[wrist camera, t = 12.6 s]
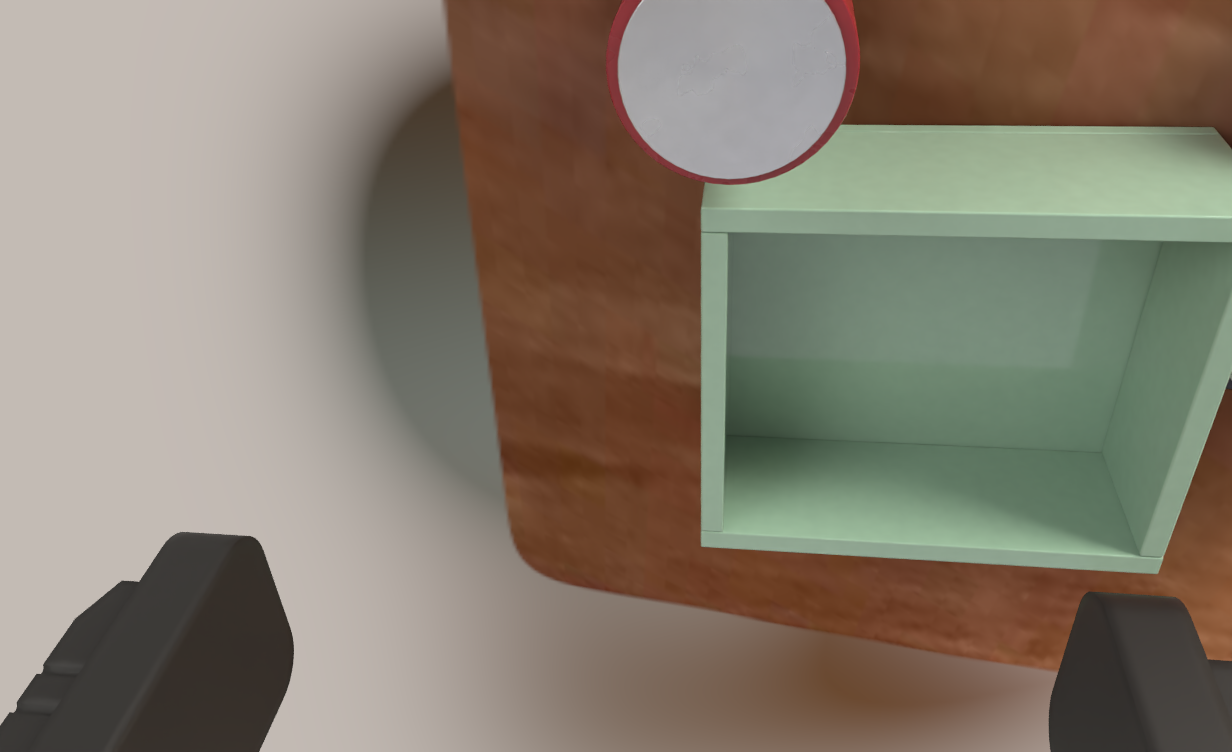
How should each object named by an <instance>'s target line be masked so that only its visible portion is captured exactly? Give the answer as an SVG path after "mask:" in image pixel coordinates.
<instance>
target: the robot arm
mask: <svg viewBox="0 0 1232 752" xmlns="http://www.w3.org/2000/svg"><path fill="white" fill-rule="evenodd" d="M293 656H294V645H293V637H292V632H291V629H290V626H289V623H288V621H287V617H286V614H285V612H284V609H283V606H282V603H281V600H280V597H279V594H278V591H277V588H276V586H275V583H274V580H273V577H272V574H271V571H270V568H269V565H268V563H267V560H266V557H265V554H264V551H263V549H262V546H261V545H260V543H259V542H258V540H256V539H255V538H253V537H251V536H238V535H222V534H205V533H190V532H180V533H177V534H175V535H173V536H172V537H171V538H170V539H169V540H168V541H167V542H166V543H165V544H164V546H163V547H162V548H161V550H160V551H159V553H158V554H157V556H156V557H155V559H154V560H153V562H152V563H151V565H150V566H149V568H148V569H147V571H146V573H145V574H144V575H143V577H142V578H141V580H140V582H134V581H121V582H120V583H118V584H117V585H116V586H115V587H114V588H112V589H111V590H110V591H109V592H107V593H106V594H105V595H104V596H103V597H101V598H100V599H99V600H98V601H97V602H95V603H94V604H93V605H92V606H91V607H89V608H88V609H87V610H85V611H84V612H83V613H82V614H81V615H79V616H78V617H77V618H76V619H75V620H74V621H73V623H72V624H71V626H70V627H69V628H68V630H67V631H66V633H65V634H64V636H63V637H62V638H61V640H60V642H59V643H58V644H57V646H56V647H55V648H54V650H53V651H52V653H51V654H50V656H49V657H48V658H47V660H46V661H45V663H44V665H43V666H44V669H43V672H42V673H41V674H36V676H35V677H34V678H33V680H32V681H31V683H30V684H29V686H28V687H27V688H26V690H25V691H24V693H23V694H22V696H21V697H20V698H19V700H18V701H17V709H16V711H15V712H14V713H9V714H8V716H7V717H6V718H5V720H4V721H3V723H2V724H1V725H0V752H259V751H260V748H261V746H262V744H263V742H264V740H265V737H266V735H267V733H268V731H269V729H270V727H271V724H272V722H273V720H274V718H275V715H276V714H277V711H278V709H279V707H280V705H281V703H282V701H283V698H284V696H285V693H286V691H287V688H288V685H289V682H290V677H291V673H292V667H293V658H294V657H293ZM1049 741H1050V750H1051V752H1232V661H1221V660H1208V659H1207V657H1206V654H1205V652H1204V649H1203V647H1202V644H1201V642H1200V639H1199V637H1198V634H1197V632H1196V629H1195V627H1194V624H1193V621H1192V619H1191V617H1190V614H1189V612H1188V610H1187V608H1186V607H1185V605H1184V604H1183V603H1182V602H1181V601H1180V600H1179V599H1178V598H1176V597H1167V596H1151V595H1135V594H1119V593H1103V592H1088V593H1086V594H1085V595H1084V596H1083V598H1082V600H1081V602H1080V605H1079V608H1078V611H1077V614H1076V617H1075V621H1074V624H1073V627H1072V630H1071V633H1070V636H1069V640H1068V643H1067V646H1066V649H1065V652H1064V656H1063V659H1062V662H1061V665H1060V668H1059V672H1058V675H1057V678H1056V681H1055V685H1054V688H1053V691H1052V695H1051V700H1050V709H1049Z"/></svg>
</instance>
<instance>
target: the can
mask: <svg viewBox="0 0 1232 752" xmlns="http://www.w3.org/2000/svg"><path fill="white" fill-rule="evenodd" d="M859 70H860V48H859V40H858V33H857V27H856V20H855V14H854V8H853V2H852V0H622V1H621V4H620V6H619V9H618V11H617V13H616V16H615V18H614V21H613V24H612V27H611V31H610V34H609V38H608V45H607V52H606V74H607V82H608V88H609V91H610V95H611V99H612V102H613V105H614V107H615V110H616V112H617V115H618V117H619V118H620V120H621V122H622V124H623V125H624V127H625V129H626V130H627V132H628V133H629V134H630V136H631V137H632V138H633V140H634V141H635V142H636V143H637V144H638V145H639V146H640V147H641V148H642V149H643V150H644V151H645V152H646V153H647V154H648V155H649V156H651V157H652V158H653V159H654V160H656V161H657V162H658V163H660V164H662V165H663V166H665V167H666V168H668V169H670V170H672V171H674V172H676V173H678V174H680V175H682V176H685V177H688V178H691V179H694V180H697V181H701V182H706V183H712V184H722V185H740V184H749V183H755V182H760V181H764V180H767V179H771V178H774V177H777V176H779V175H781V174H784V173H786V172H788V171H790V170H792V169H794V168H795V167H797V166H799V165H801V164H802V163H804V162H805V161H807V160H808V159H809V158H810V157H812V156H813V155H814V154H816V153H817V152H818V151H819V150H820V149H821V148H822V147H823V146H824V145H825V144H826V143H827V142H828V141H829V140H830V138H831V137H832V136H833V135H834V133H835V132H836V131H837V130H838V128H839V126H840V125H841V123H842V121H843V120H844V118H845V116H846V114H847V112H848V110H849V108H850V105H851V103H852V101H853V98H854V94H855V91H856V88H857V83H858V77H859Z"/></svg>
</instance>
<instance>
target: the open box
mask: <svg viewBox="0 0 1232 752" xmlns="http://www.w3.org/2000/svg"><path fill="white" fill-rule="evenodd" d="M1231 372H1232V148H1231V147H1230V146H1229V145H1228V143H1227V142H1226V141H1225V140H1224V138H1223V137H1222V136H1221V135H1220V134H1219V132H1218V131H1217V130H1216V129H1215V128H1214V127H1108V126H953V125H840V126H839V128H838V130H837V131H836V132H835V133H834V135H833V136H832V137H831V138H830V140H829V141H828V142H827V143H826V144H825V145H824V146H823V147H822V148H821V149H820V150H819V151H818V152H817V153H816V154H814V155H813V156H812V157H810V158H809V159H808V160H807V161H805V162H804V163H802V164H801V165H799V166H797V167H795V168H794V169H792V170H790V171H788V172H786V173H784V174H781V175H779V176H777V177H774V178H771V179H767V180H764V181H760V182H755V183H749V184H740V185H722V184H712V183H706V182H705V183H704V190H703V197H702V204H701V546H702V547H714V548H731V549H747V550H764V551H780V552H797V553H814V554H830V555H847V556H863V557H880V558H897V559H913V560H930V561H947V562H963V563H980V564H996V565H1013V566H1030V567H1046V568H1063V569H1079V570H1096V571H1113V572H1129V573H1146V574H1158V572H1159V569H1160V566H1161V564H1162V561H1163V556H1164V554H1165V552H1166V549H1167V546H1168V543H1169V541H1170V538H1171V535H1172V533H1173V530H1174V527H1175V524H1176V522H1177V519H1178V516H1179V514H1180V511H1181V508H1182V505H1183V503H1184V500H1185V497H1186V495H1187V492H1188V489H1189V486H1190V484H1191V481H1192V478H1193V476H1194V473H1195V470H1196V467H1197V465H1198V462H1199V459H1200V457H1201V454H1202V451H1203V448H1204V446H1205V443H1206V440H1207V437H1208V435H1209V432H1210V429H1211V427H1212V424H1213V421H1214V418H1215V416H1216V413H1217V410H1218V408H1219V405H1220V402H1221V399H1222V397H1223V394H1224V391H1225V389H1226V386H1227V383H1228V380H1229V378H1230V375H1231Z"/></svg>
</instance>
